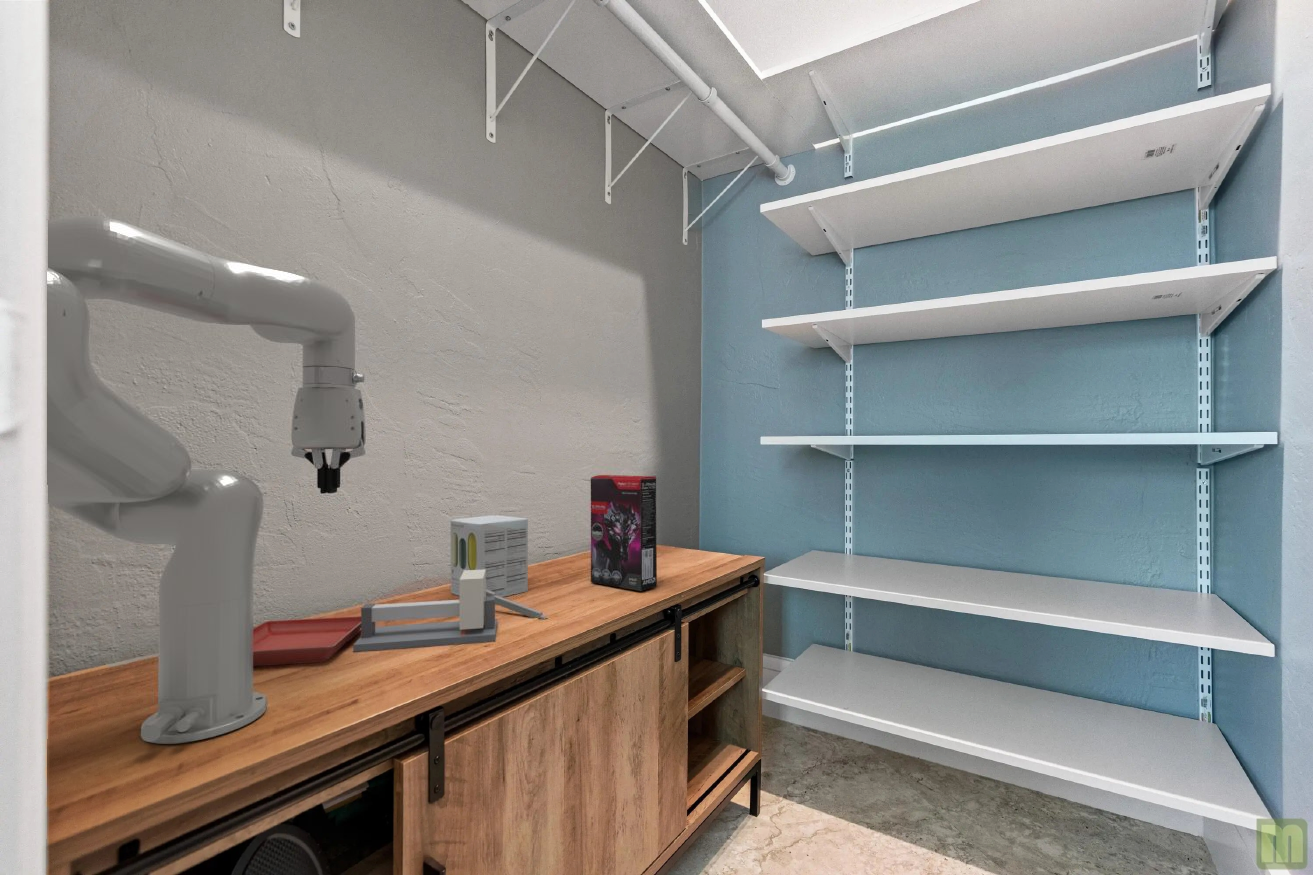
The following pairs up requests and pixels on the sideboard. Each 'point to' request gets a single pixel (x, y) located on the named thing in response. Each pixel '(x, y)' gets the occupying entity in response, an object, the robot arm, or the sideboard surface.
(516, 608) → the caliper
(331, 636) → the plant saucer
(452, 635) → the gray slide rail base
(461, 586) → the white sliding block
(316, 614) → the sideboard surface
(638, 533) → the graphics card box
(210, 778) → the sideboard surface
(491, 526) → the supplement box
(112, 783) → the sideboard surface
